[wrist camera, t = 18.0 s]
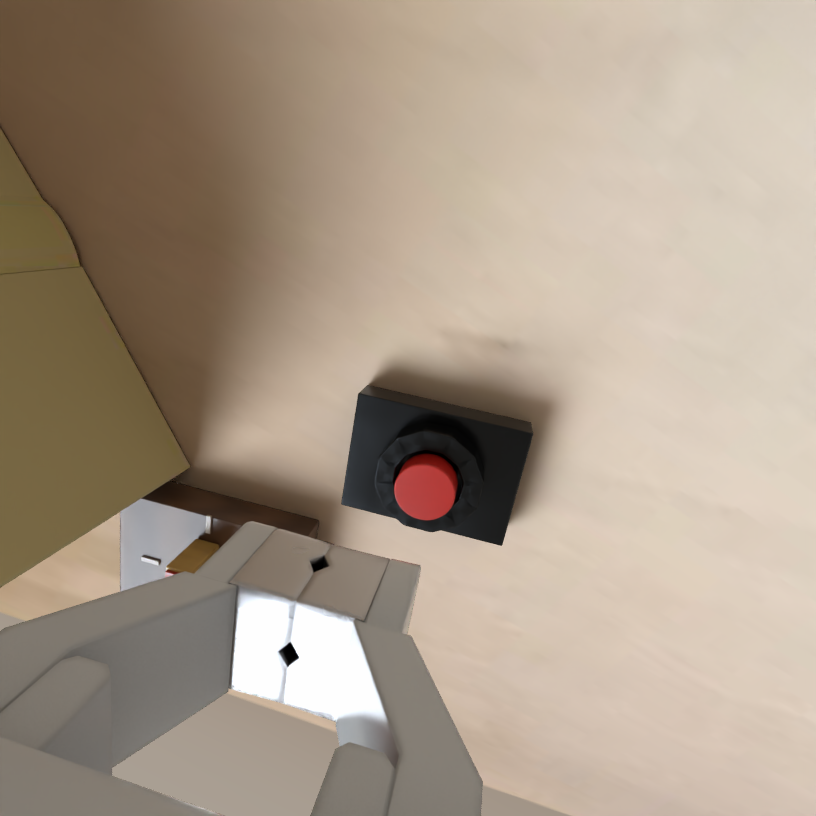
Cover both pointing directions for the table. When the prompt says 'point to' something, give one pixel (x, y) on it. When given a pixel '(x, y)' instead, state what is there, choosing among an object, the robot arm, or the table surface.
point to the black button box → (446, 437)
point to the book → (63, 391)
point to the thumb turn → (191, 557)
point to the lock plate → (187, 527)
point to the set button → (426, 487)
